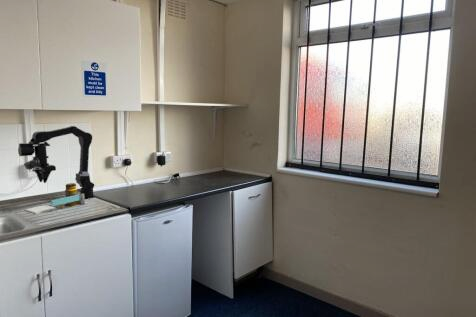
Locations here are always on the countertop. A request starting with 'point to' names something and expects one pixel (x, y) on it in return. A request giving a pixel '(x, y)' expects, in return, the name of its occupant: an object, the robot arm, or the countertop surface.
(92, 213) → the countertop surface
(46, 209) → the mat
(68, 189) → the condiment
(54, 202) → the bar
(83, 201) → the holder
